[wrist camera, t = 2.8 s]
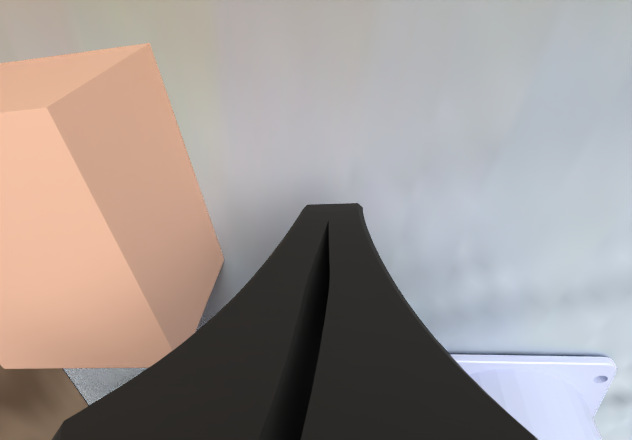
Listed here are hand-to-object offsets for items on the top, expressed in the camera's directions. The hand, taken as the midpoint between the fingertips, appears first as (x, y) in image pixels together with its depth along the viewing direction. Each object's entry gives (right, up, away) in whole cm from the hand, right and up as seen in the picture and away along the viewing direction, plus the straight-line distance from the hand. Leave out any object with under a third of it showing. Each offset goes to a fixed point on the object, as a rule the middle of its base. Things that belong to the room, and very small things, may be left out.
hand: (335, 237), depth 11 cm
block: (-8, +2, +4) cm, 9 cm away
